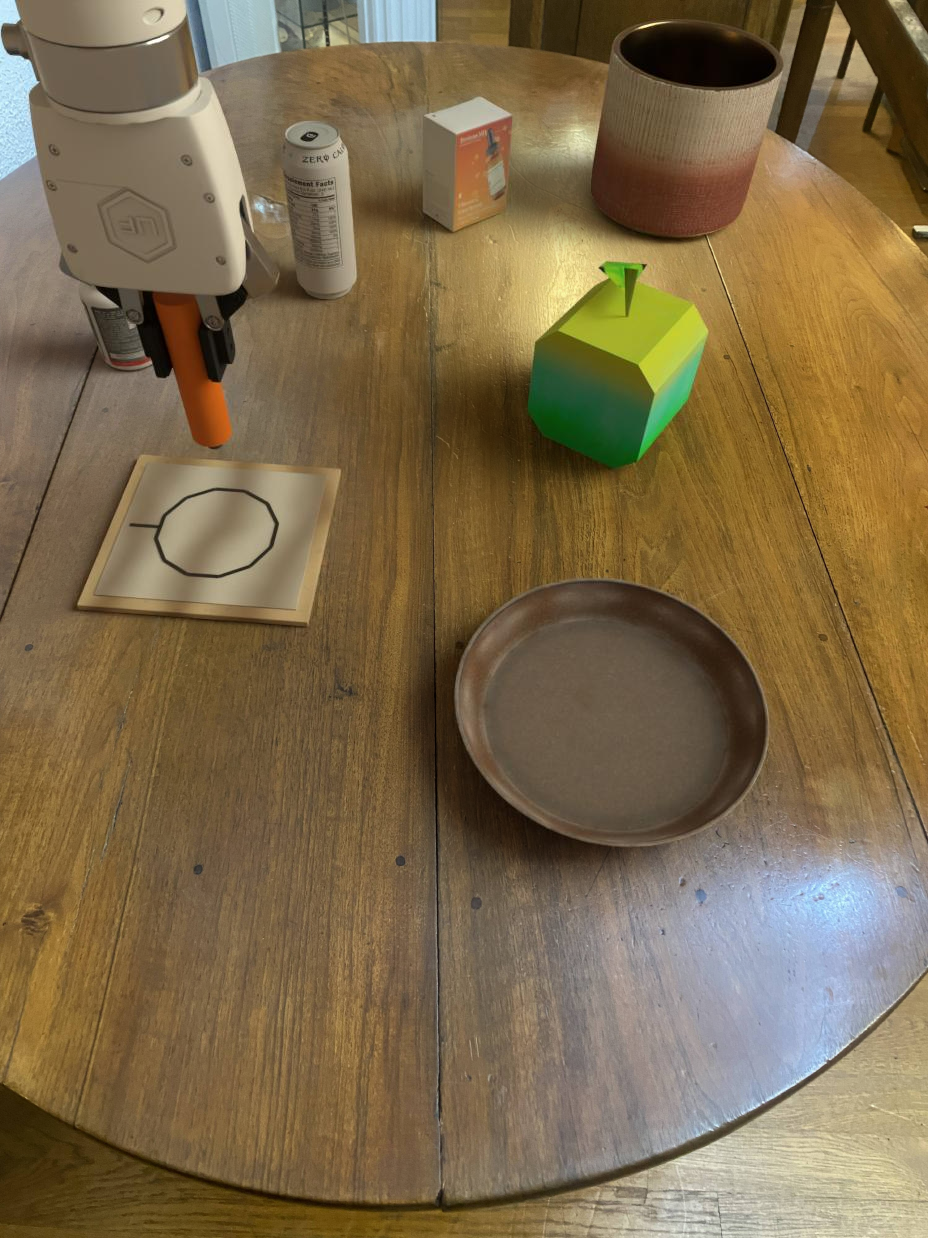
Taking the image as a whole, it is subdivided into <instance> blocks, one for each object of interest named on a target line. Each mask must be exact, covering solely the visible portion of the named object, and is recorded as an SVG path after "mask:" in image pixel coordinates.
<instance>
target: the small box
mask: <svg viewBox="0 0 928 1238" xmlns="http://www.w3.org/2000/svg"><path fill="white" fill-rule="evenodd" d="M513 118H514V117H513V115H512V114H511V113H510V112H508V111H507V110H504V109H503V108H501V107H499V106H498V105H496V104H494V103H492V102H491V101H489V100H487V99H486V98H483V97H482V96H477V97H474V98H472V99H470V100H468V101H464V102H461V103H459V104H456V105H452V106H449V107H446V108H443V109H440V110H437V111H433V112H430V113H426V114H423V115H422V211H423V213H424V214H425V215H427V216H428V217H430V218H431V219H433V220H434V221H436V222H437V223H439V224H440V225H442V226H443V227H445V228H446V229H448V230H449V231H451V232H453V233H454V232H457V231H459V230H461V229H464V228H466V227H468V226H471V225H473V224H476V223H478V222H481V221H484V220H486V219H488V218H491V217H494V216H498V215H500V214H503V213H505V211H506V206H507V193H508V180H509V167H510V156H511V143H512V131H513V129H512V128H513Z"/></svg>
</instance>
